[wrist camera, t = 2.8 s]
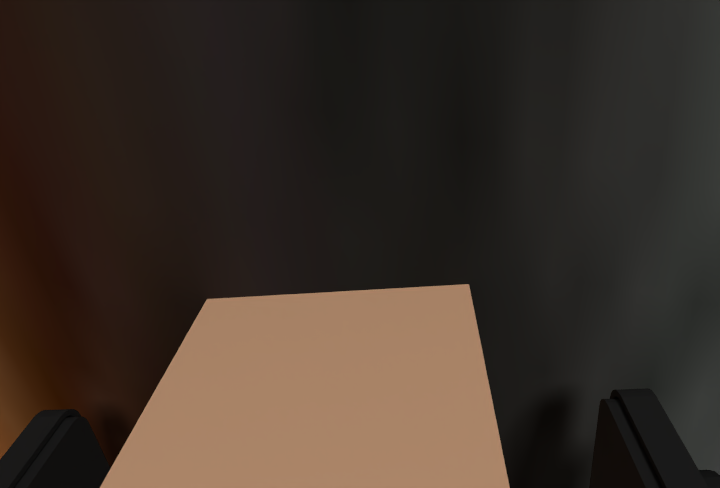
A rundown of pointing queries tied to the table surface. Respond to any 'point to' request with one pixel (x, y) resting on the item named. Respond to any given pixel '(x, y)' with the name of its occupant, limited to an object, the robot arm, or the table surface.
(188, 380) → the terracotta block
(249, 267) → the table surface
